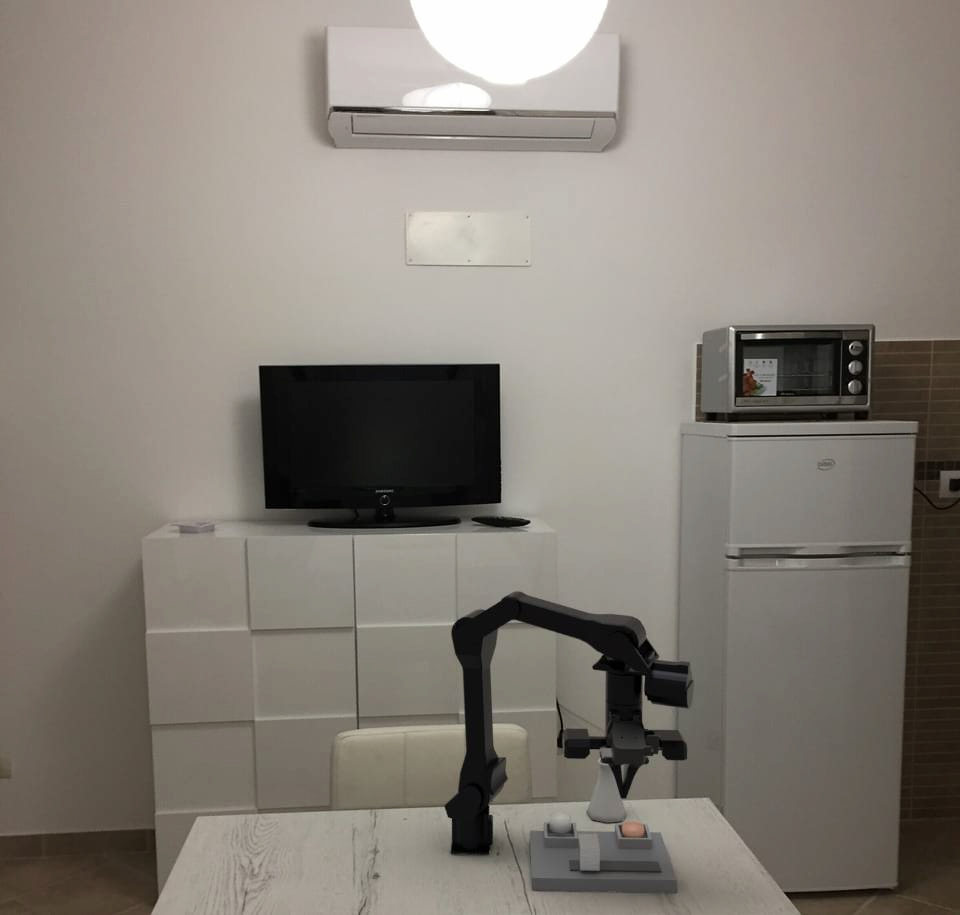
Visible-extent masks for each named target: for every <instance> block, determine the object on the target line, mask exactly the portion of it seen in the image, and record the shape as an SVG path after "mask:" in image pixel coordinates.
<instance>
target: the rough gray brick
mask: <svg viewBox="0 0 960 915" xmlns="http://www.w3.org/2000/svg"><path fill="white" fill-rule="evenodd" d="M578 859H579V866H580V870H591V871H600V847H599V841H598V836H597V834H578Z"/></svg>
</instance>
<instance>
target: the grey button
mask: <svg viewBox="0 0 960 915" xmlns="http://www.w3.org/2000/svg"><path fill="white" fill-rule="evenodd" d="M549 822H550V830H551V831H553V832H556V833H566V832H569V831H570V830H571V823H572V815H571V814H570V813H569V812H568V811H562V810H559V811H558V810H556V811H553V812H551V813H550V814H549Z"/></svg>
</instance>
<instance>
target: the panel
mask: <svg viewBox="0 0 960 915" xmlns="http://www.w3.org/2000/svg"><path fill="white" fill-rule="evenodd" d="M624 823H625V822H621V823H620V822H619V823H618V822H614V831H603V830H602V831H597V830H596V831H590V830H589V831H587V830H584V831H583V830H580V831H579V830H578V829H577V823H576V822H571V830H570V831H569V832H566V833H556V832H553V831H551V830H550V821H549V822H543V830H529V845H530V847H529V849H530V874H531V876H530V878H531V879H530V882H531V891H532V890H538V891H539V892H546V891H547V892H587V891H589V892H593V891H595V892H596V891H600V892H601V893H602V892H603V893H604V891H611V892H610V893H613V892H612V891H616V893H647V892H648V893H653V894H655V893H656V894H657V893H658V894H660V893H663V894H678V892H677V891H678V880H677V876H676V874H675V871H674V868H673V865H672V862H671V858H670V857H669V853H668V851H667V847H666V844H665V841H664V839H663V838H664V837H663V834H662V832H659V831H658V832H657V831H656V832H655V831H650V828H649V825H648V823H641V824H642V825H643V826H644V838H622V825H623V824H624ZM578 834H597V836H598V841H599V847H600V871H591V870H580V866H579V859H578ZM538 891H537V892H538ZM619 891H621V892H619ZM600 892H599V893H600Z"/></svg>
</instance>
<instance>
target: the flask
mask: <svg viewBox="0 0 960 915" xmlns="http://www.w3.org/2000/svg"><path fill="white" fill-rule="evenodd" d="M597 764H598V767H599V768H598V775H597V776H598V777H597V780H596V781H597V782H596V785H595V788H594V790H593V793H592V795H591V798H590V800H589V803H588V807H587V809H586V814H587V815H588V816H589V818H590V820H592V821H597V822H602V823H606V824H607V823H618V822H623V821H624V819H625V817H626V816H627V812H626V808H625V806H624V802H623V801H622V799H621V797H620V794H619V790H618V787H617V784H616V780H615V777H614V775H613V772H612V770H611V768H610V766H609V765H608V764H604V763H602V762H601V759H600V757H599V758H598V760H597Z"/></svg>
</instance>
